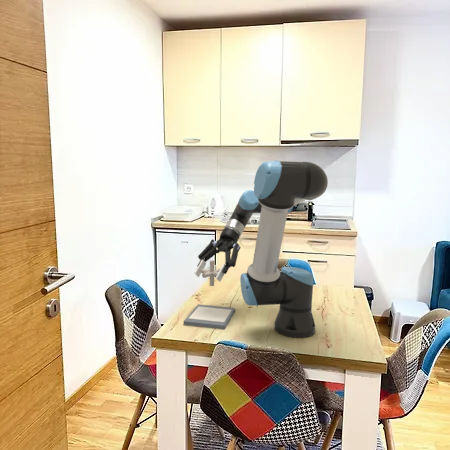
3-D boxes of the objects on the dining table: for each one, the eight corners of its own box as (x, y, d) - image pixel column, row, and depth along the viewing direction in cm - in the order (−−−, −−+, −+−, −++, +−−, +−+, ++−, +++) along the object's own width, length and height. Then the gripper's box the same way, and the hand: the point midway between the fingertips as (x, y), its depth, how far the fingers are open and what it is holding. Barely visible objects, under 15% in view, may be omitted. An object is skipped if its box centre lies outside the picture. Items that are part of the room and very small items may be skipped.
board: (198, 307, 181) (198, 303, 181) (235, 311, 178) (235, 307, 177) (183, 324, 162) (183, 320, 161) (224, 329, 158) (224, 325, 158)
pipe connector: (213, 290, 162) (214, 264, 160) (193, 285, 168) (194, 260, 166) (229, 285, 170) (230, 260, 168) (210, 280, 176) (210, 256, 174)
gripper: (258, 241, 172) (234, 287, 162) (214, 235, 185) (189, 277, 175) (251, 229, 167) (226, 276, 157) (206, 224, 180) (181, 267, 170)
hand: (207, 277), depth 166 cm, fingers closed on pipe connector, 10 cm apart
